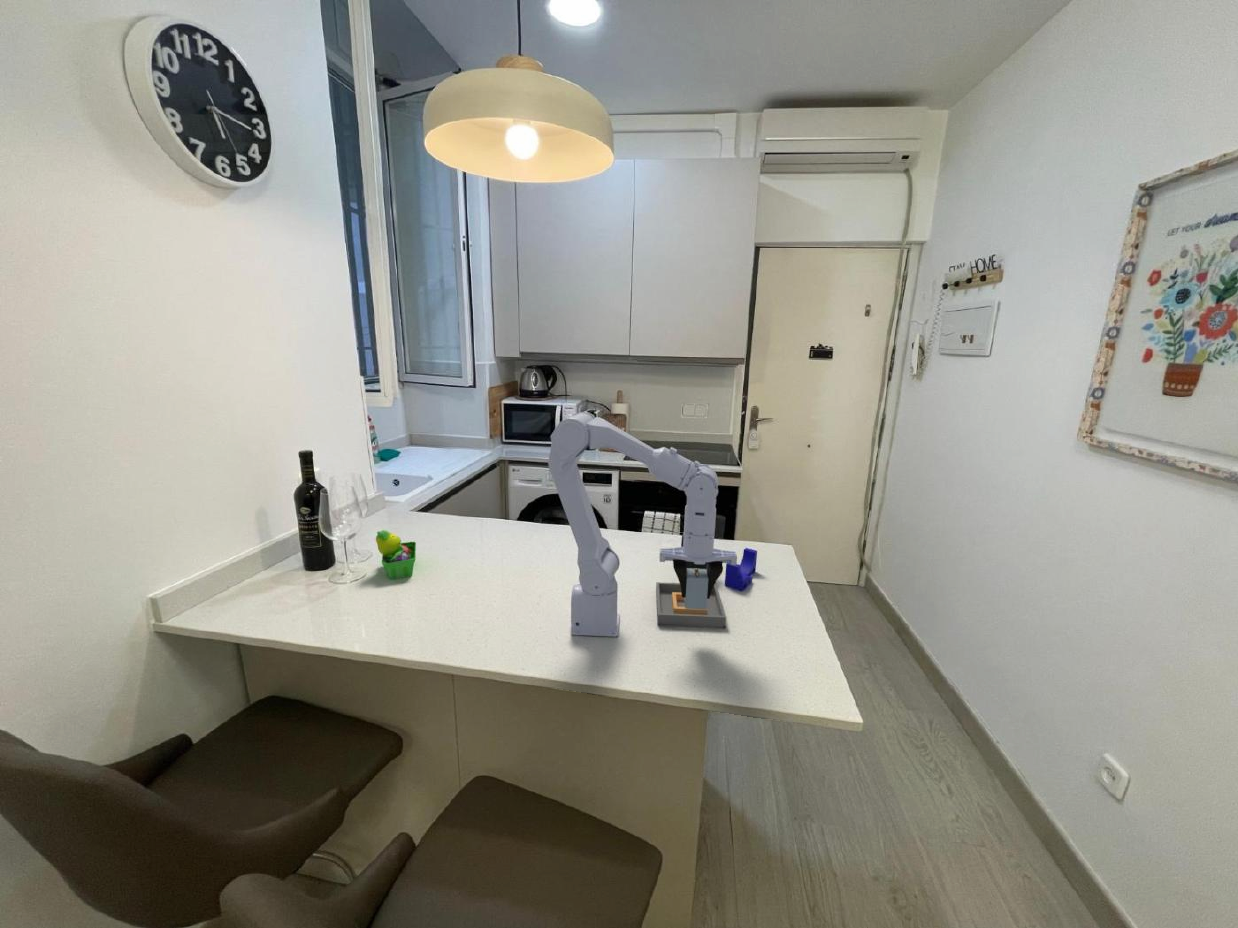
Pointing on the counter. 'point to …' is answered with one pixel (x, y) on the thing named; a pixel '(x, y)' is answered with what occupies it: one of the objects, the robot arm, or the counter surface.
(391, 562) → the fruit basket
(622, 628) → the counter surface
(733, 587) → the cable clip
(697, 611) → the box
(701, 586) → the connector plug
